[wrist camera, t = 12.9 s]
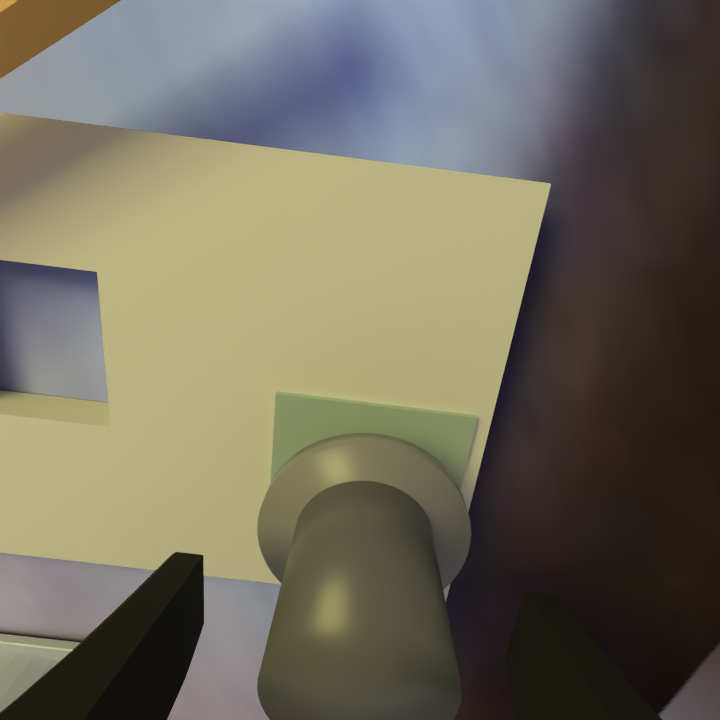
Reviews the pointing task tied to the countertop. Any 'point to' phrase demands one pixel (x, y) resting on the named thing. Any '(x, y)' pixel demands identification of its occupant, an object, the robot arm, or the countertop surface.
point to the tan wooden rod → (40, 26)
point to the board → (246, 329)
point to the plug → (362, 582)
